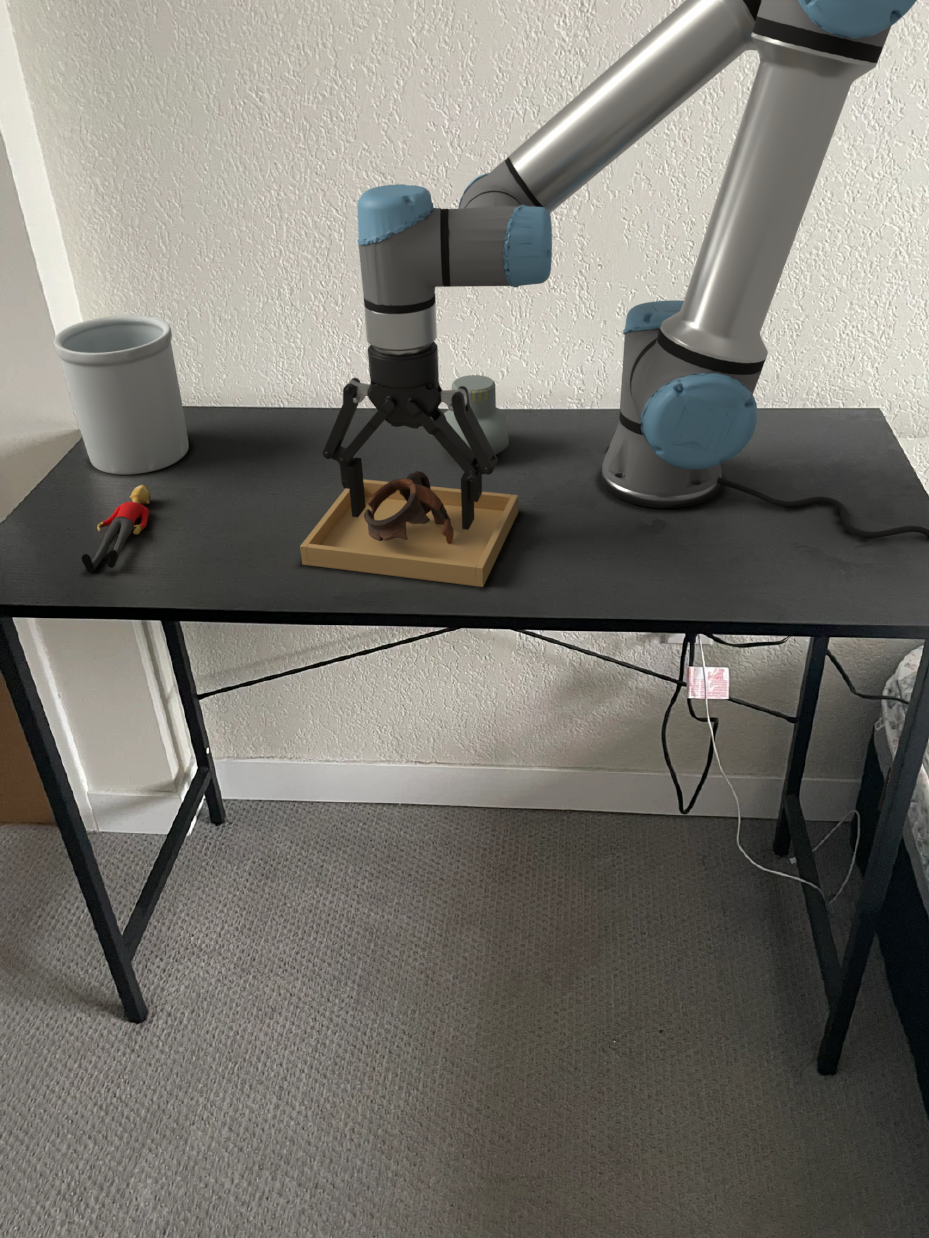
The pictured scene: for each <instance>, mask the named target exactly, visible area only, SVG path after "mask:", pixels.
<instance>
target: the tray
mask: <svg viewBox="0 0 929 1238" xmlns="http://www.w3.org/2000/svg"><path fill="white" fill-rule="evenodd" d="M363 482H364V493H365V504H366V507H365V509H364V510H363V511H362V513H361V514H360V516H359V517H352V510H351V500H350V490H349V489H346V488H344V490H343V491H342V492H341V493H340V495H339V496H338V497H337V498H336V500H335V501H334V502H333V504H332V505H331V506H330V507H329V509H328V510H327V511H326V512H325V514H323V516H322V518H321V519H320V520H319V521H318V522H317V523H316V525H315V526H314V527H313V529H312V530H311V532H310V533H309V534H308V536H307V537H306V538H305V539H304V541H303V542H302V543H301V545H300V546H299V549H300V555H301V563H302V564H301V565H303V566H309V567H310V566H311V567H320V568H325V569H326V568H328V569H335V570H342V571H344V570H345V571H351V572H352V571H353V572H359V573H367V574H375V575H383V576H392V577H399V578H406V579H414V580H423V581H431V582H432V581H433V582H439V583H448V584H455V585H463V586H469V587H470V586H471V587H479V588H480V587H481V588H483V587H484V586H485V584H486V581H487V580H488V577H489V575H490V574H491V572H492V569H493V567H494V565H495V563H496V561H497V558H498V556H499V554H500V552H501V550H502V548H503V546H504V543H505V542H506V539H507V537H508V535H509V533H510V531H511V529H512V526H513V525H514V522H515V520H516V518H517V516H518V514H519V495H518V494H512V493H511V494H510V493H500V492H492V491H491V492H490V491H482V494H481V496H480V498H479V500H478V502H474V520H473V522H472V524H471V526H470V528H469V530H466V529H462V505H461V488H452V487H443V486H433V485H430V487H431V490H432V491H433V492H434V493H435V494H436V495H437V497H439V498H440V500H441V502H442V503H443V505H444V507H445V509H446V511H447V514H448V516H449V518H450V522H451V526H452V528H453V532H454V535H453V540H452V542H451V543H450V544H448V543H447V541H446V536H444V535H443V533H442V530H443V527H444V525H442V524H436V523H435V521H434V517H433V515H432V512H431V511H430V512H429V513H427V514H426V515H427V517H428V518H429V519H430V521H429V522H427V523H426V524H411V523H409V522H406V535H407V538H408V540H405V539H401V538H393V539H391V540H382V541H378V540H375V539H373V538H372V537H370V535H369V533H368V532H369V531H368V523H367V522H366V521H365V519H364V513H365V512H366V510H367V509H369V510H370V511H371V507H370V506H369V505H368V501H369V499H370V498H371V497H372V496H373V494H374V493H375V492H377V490H378V489H380V488H381V487H382V486H384V485H385V484H387V483H388V482H389V481H385V480H384V481H383V480H373V479H364V478H363ZM406 503H407V501H406V500H405V499H404V497H403V496H402V495H401V494H400V491H399V490H397V491H396V492H395V493H394V494H392V495H390V496H389V497H388V498H387V499H386V500H384V501H383V502H382V503H381V504H380V506H379V507H378V509H377V510H376V512H375V514H374V520H383V519H387V518H389V517H391V516H393V515H394V514H396V513H397V512H399V511H400V510H401V509H402V508H403V506H404V505H405V504H406Z"/></svg>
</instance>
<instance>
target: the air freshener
mask: <svg viewBox="0 0 929 1238" xmlns="http://www.w3.org/2000/svg"><path fill="white" fill-rule="evenodd" d="M460 386H464V387H466V388H467V390H468V395H469V402H470V406H471V408H472V410H473V412H474V414H475V416H476V418H477V420H478V422H479V424H480V426H481V428H482V430H483V432H484V434H485V436H486V438H487V440H488V442H489V444H490V445H491V447H492V449H493V451H494V453H495V455H497V454H499V453H501V452H503V451H504V450H505V449H507V447H509V442H510V438H509V437H510V435H509V427H508V422H507V417H506V415H505V412H504V411H503V410H502V409H500V408H499V407H497V401H496V400H497V399H496V397H497V396H496V395H497V394H496V381H494V380H493V378H491V377H489V376H485V375H481V374H468V375H463V376H460V377H457V378H455V380H453V382H452V383H451V390H457V389H458V388H459V387H460ZM443 414H444V415H445V417H446V420H447V422H448V423H449V424H450V425H451V426H452V428H453V429H454V430H455V431H456V432H457V433H458V435H459V436H460V437H461V438H462V439H463V441H464V442H465V443H466V444H467V445H468V446H469V444H468V442H467V440H466V438H465V436H464V434H463V432H462V431H461V429H460V427H459V425H458V423H457V421H456V419H455V416H454V412H453V411H450V410H449V409H448V410H446V411H445V412H443ZM469 448H470V446H469ZM470 449H471V448H470Z"/></svg>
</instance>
